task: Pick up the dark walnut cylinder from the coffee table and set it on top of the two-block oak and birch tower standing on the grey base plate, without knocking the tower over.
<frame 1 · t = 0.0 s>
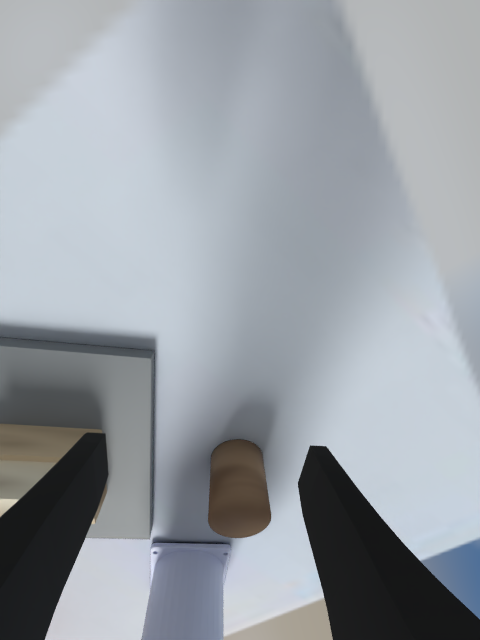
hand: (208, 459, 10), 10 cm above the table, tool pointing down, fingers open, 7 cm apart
grey base plate: (63, 450, 23), on the table
birch top block: (38, 491, 20), point 3 cm above the table, touching oak bottom block
oak bottom block: (57, 460, 22), point 1 cm above the table, touching birch top block, grey base plate
walnut cylinder: (236, 458, 25), on the table
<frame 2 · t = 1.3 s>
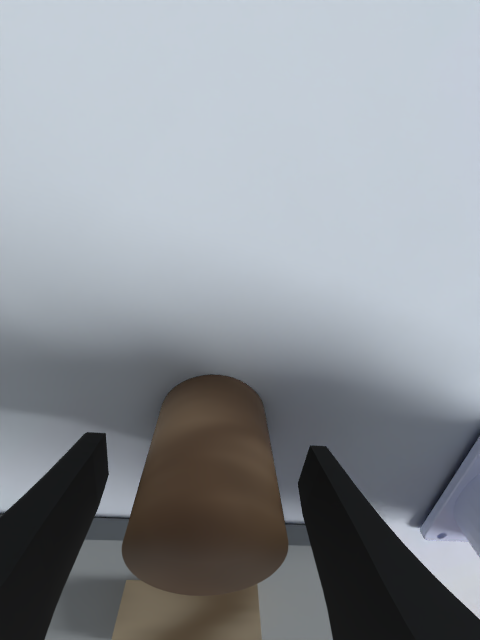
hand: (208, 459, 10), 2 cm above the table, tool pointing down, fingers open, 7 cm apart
grey base plate: (190, 591, 18), on the table
oak bottom block: (189, 612, 17), point 1 cm above the table, touching birch top block, grey base plate
walnut cylinder: (213, 417, 12), on the table
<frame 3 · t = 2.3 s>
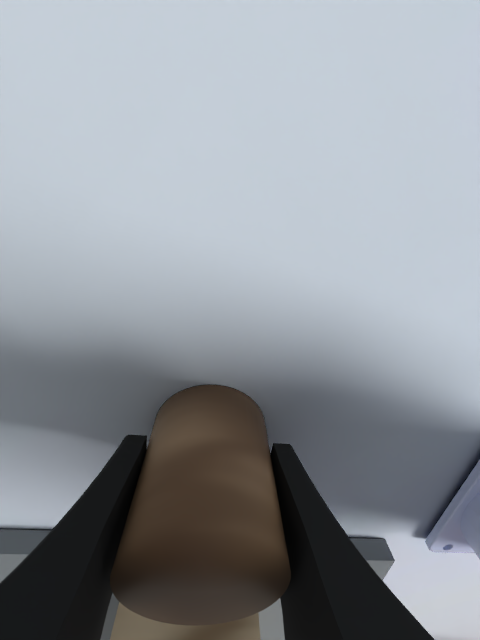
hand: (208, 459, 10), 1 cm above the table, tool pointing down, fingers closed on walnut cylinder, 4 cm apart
grey base plate: (188, 604, 17), on the table
oak bottom block: (186, 627, 17), point 1 cm above the table, touching birch top block, grey base plate
walnut cylinder: (210, 429, 12), on the table, touching gripper
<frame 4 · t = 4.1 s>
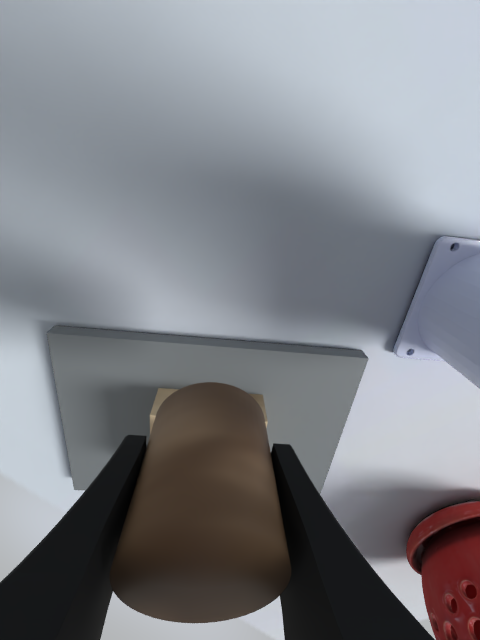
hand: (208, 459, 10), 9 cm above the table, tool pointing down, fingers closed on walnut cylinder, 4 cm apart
grey base plate: (208, 420, 22), on the table
oak bottom block: (207, 430, 21), point 1 cm above the table, touching birch top block, grey base plate
plant pot: (451, 527, 30), on the table
walnut cylinder: (210, 427, 12), point 8 cm above the table, touching gripper
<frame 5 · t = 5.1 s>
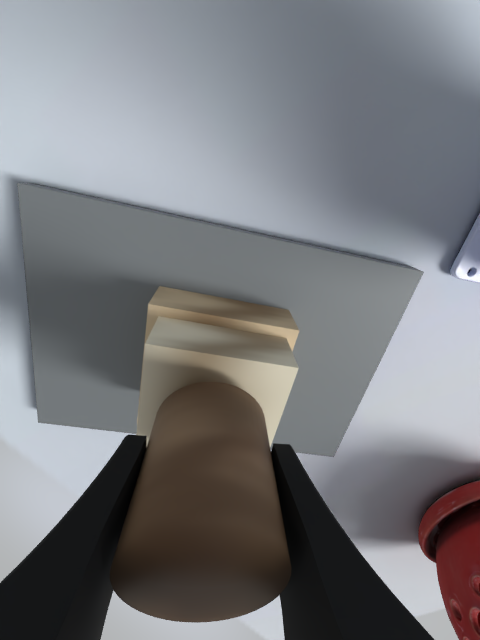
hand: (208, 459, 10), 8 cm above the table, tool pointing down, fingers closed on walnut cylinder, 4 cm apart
grey base plate: (214, 345, 18), on the table
birch top block: (213, 379, 15), point 3 cm above the table, touching oak bottom block
oak bottom block: (214, 353, 17), point 1 cm above the table, touching birch top block, grey base plate
plant pot: (468, 509, 27), on the table
walnut cylinder: (210, 426, 12), point 7 cm above the table, touching gripper
when the fingers open (8 cm above the table, at t = 5.7 s): walnut cylinder stays where it is, resting on birch top block.
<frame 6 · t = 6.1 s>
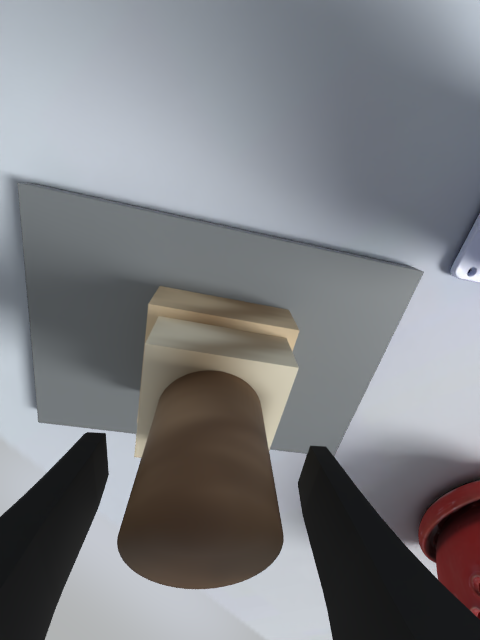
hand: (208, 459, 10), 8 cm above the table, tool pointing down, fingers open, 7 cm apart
grey base plate: (214, 345, 18), on the table
birch top block: (213, 379, 15), point 3 cm above the table, touching oak bottom block, walnut cylinder
oak bottom block: (214, 353, 17), point 1 cm above the table, touching birch top block, grey base plate
plant pot: (468, 509, 27), on the table
walnut cylinder: (209, 413, 12), point 6 cm above the table, touching birch top block
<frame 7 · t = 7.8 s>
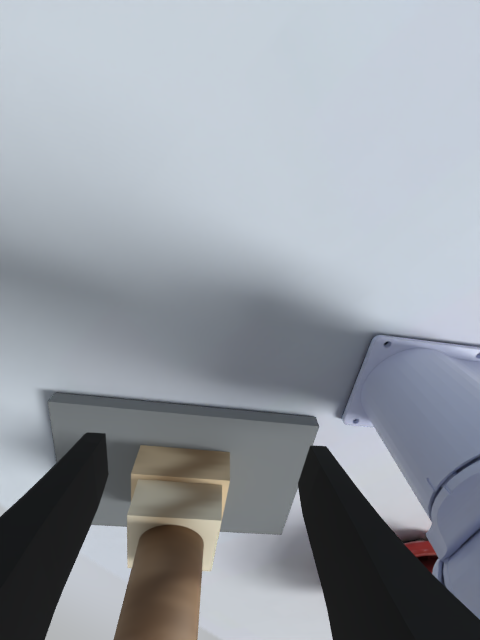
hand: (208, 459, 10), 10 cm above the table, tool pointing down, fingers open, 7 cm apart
grey base plate: (184, 468, 25), on the table
birch top block: (178, 508, 22), point 3 cm above the table, touching oak bottom block, walnut cylinder
oak bottom block: (182, 478, 24), point 1 cm above the table, touching birch top block, grey base plate
plant pot: (404, 561, 33), on the table
walnut cylinder: (171, 544, 20), point 6 cm above the table, touching birch top block
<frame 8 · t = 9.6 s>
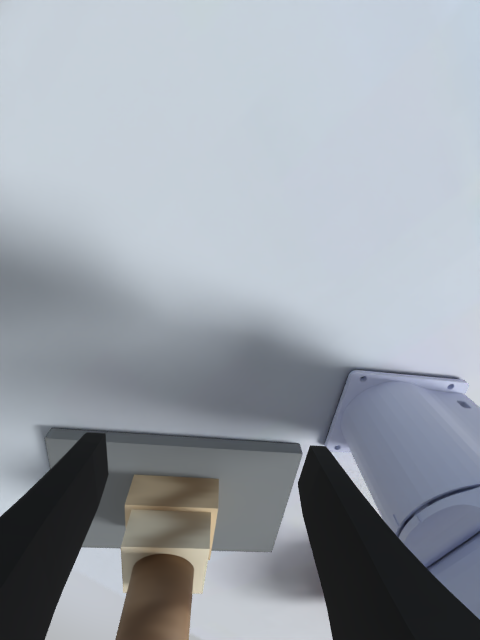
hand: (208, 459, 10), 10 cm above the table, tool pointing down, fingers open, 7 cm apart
grey base plate: (176, 492, 27), on the table
birch top block: (170, 534, 23), point 3 cm above the table, touching oak bottom block, walnut cylinder
oak bottom block: (175, 503, 26), point 1 cm above the table, touching birch top block, grey base plate
walnut cylinder: (163, 571, 21), point 6 cm above the table, touching birch top block
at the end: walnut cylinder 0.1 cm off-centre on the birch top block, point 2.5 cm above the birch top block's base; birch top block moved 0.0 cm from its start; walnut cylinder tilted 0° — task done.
